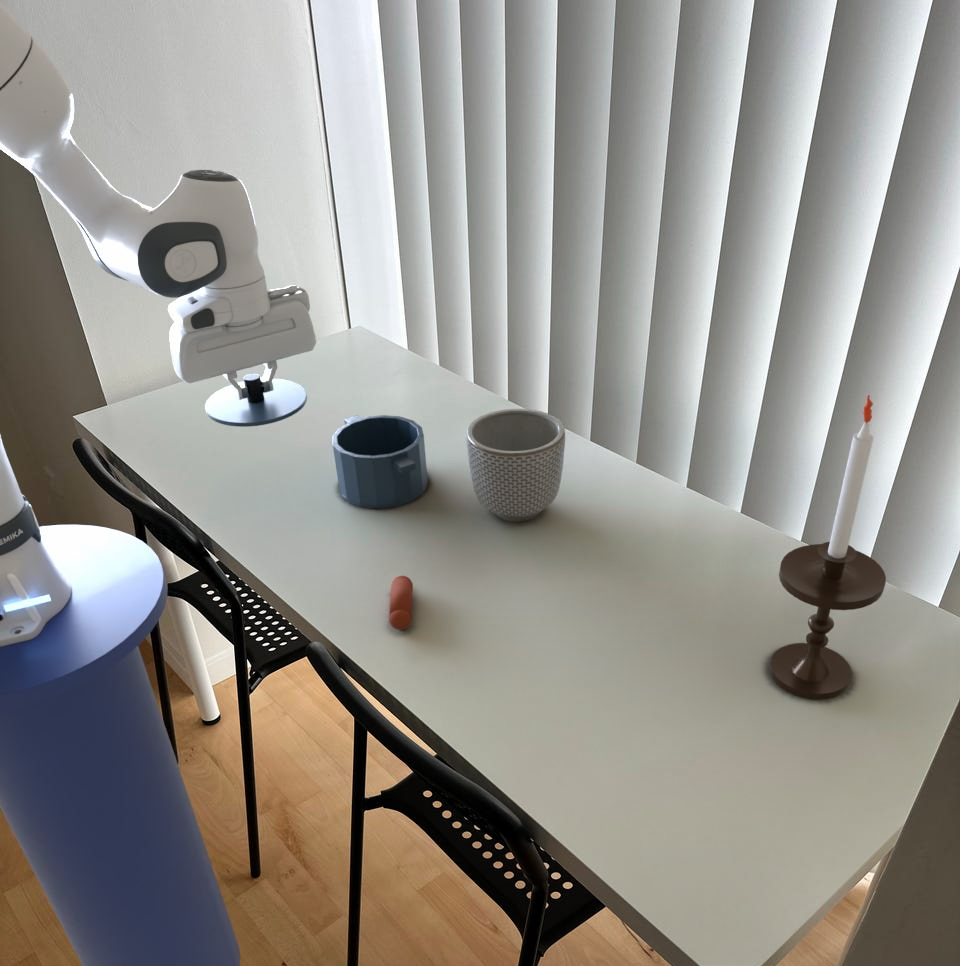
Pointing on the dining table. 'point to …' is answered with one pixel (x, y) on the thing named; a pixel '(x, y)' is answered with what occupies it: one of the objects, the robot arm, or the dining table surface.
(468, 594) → the dining table surface
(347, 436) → the pot
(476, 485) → the planter
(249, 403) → the lid
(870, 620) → the dining table surface
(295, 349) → the robot arm
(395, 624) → the sausage
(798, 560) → the candlestick
